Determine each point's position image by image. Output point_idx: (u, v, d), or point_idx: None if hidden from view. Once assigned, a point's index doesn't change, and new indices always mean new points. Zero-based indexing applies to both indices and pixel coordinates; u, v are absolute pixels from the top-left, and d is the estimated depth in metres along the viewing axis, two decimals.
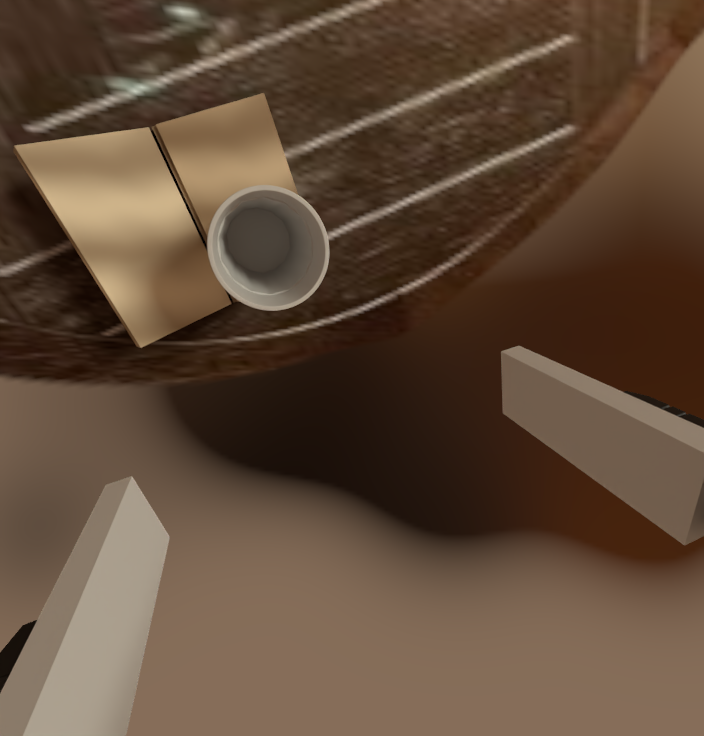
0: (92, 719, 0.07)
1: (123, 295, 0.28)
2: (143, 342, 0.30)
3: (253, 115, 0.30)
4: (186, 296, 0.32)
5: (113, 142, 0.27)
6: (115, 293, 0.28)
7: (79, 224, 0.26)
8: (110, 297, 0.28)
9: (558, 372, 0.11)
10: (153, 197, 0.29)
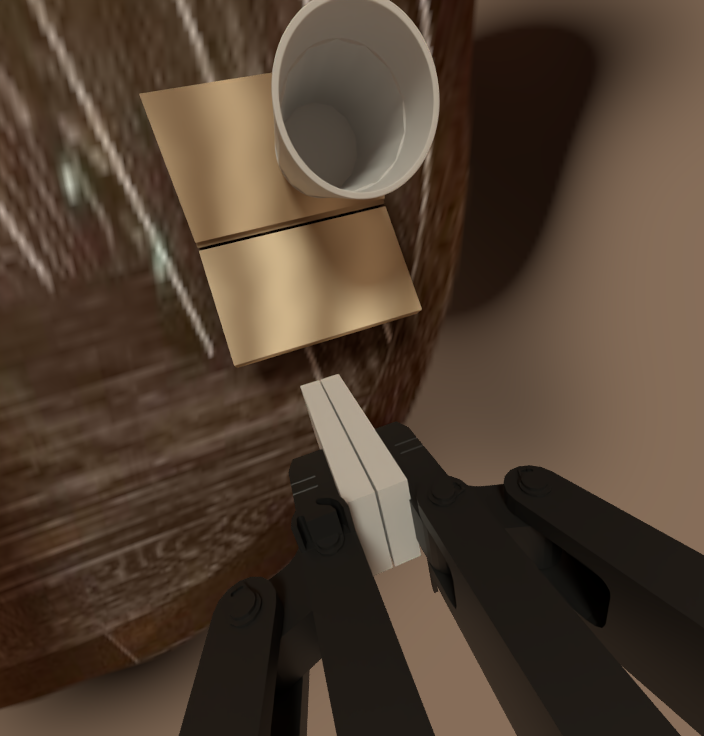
0: None
1: (368, 312, 0.28)
2: (416, 305, 0.28)
3: (169, 117, 0.23)
4: (373, 253, 0.28)
5: (219, 286, 0.26)
6: (366, 319, 0.28)
7: (300, 333, 0.27)
8: (369, 324, 0.28)
9: (343, 403, 0.12)
10: (269, 262, 0.27)
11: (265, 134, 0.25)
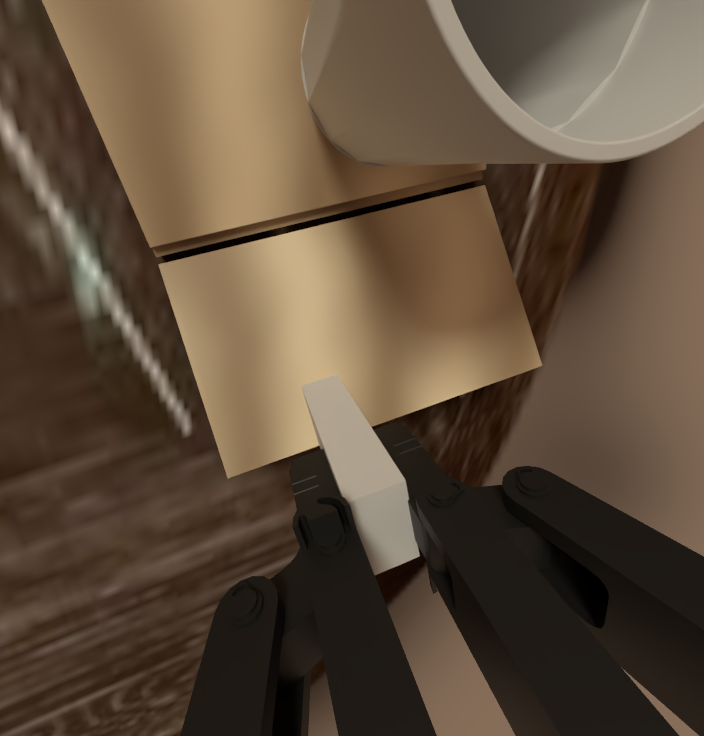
0: None
1: (457, 373, 0.16)
2: (534, 359, 0.17)
3: None
4: (465, 269, 0.17)
5: (197, 332, 0.14)
6: (453, 384, 0.16)
7: None
8: (459, 393, 0.16)
9: (341, 403, 0.12)
10: (289, 285, 0.15)
11: (283, 34, 0.13)
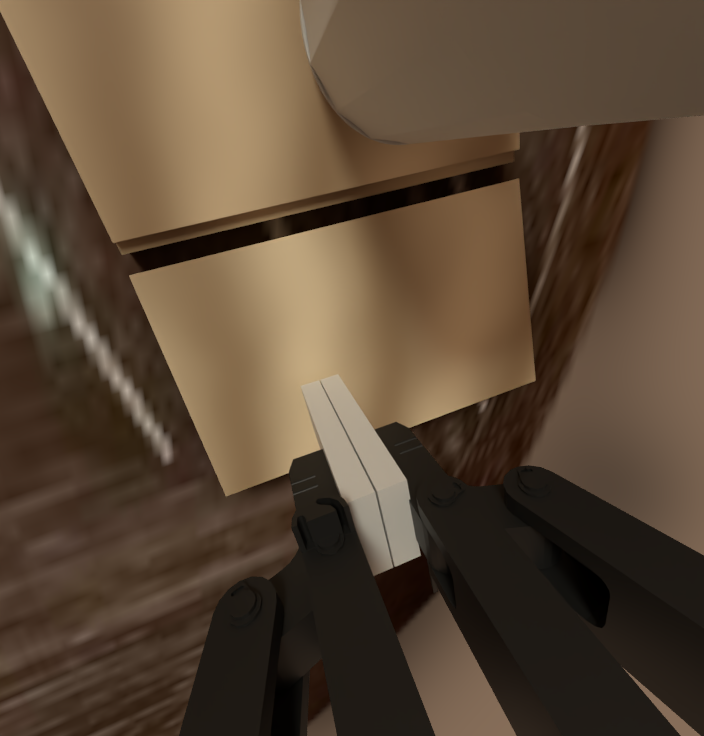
0: None
1: (455, 390, 0.16)
2: (529, 374, 0.17)
3: None
4: (480, 282, 0.15)
5: (184, 355, 0.13)
6: (449, 401, 0.16)
7: None
8: (454, 409, 0.16)
9: (342, 403, 0.12)
10: (288, 301, 0.13)
11: None
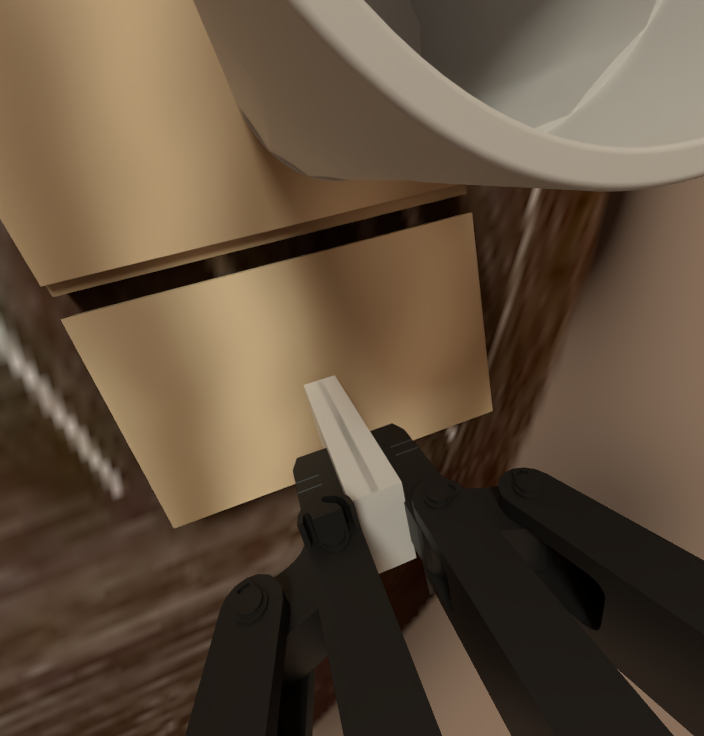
0: None
1: (408, 422, 0.16)
2: (486, 405, 0.17)
3: None
4: (433, 316, 0.15)
5: (123, 396, 0.13)
6: None
7: (290, 466, 0.15)
8: None
9: (339, 404, 0.12)
10: (230, 340, 0.13)
11: (197, 14, 0.10)
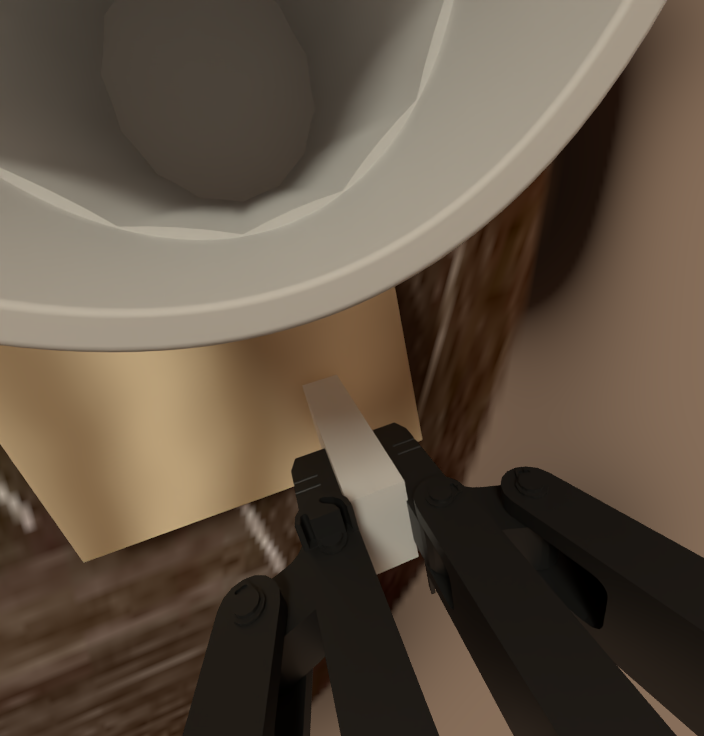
0: None
1: None
2: (415, 434, 0.17)
3: None
4: (351, 347, 0.14)
5: (16, 433, 0.12)
6: None
7: (206, 498, 0.15)
8: None
9: (341, 404, 0.12)
10: (129, 375, 0.13)
11: None
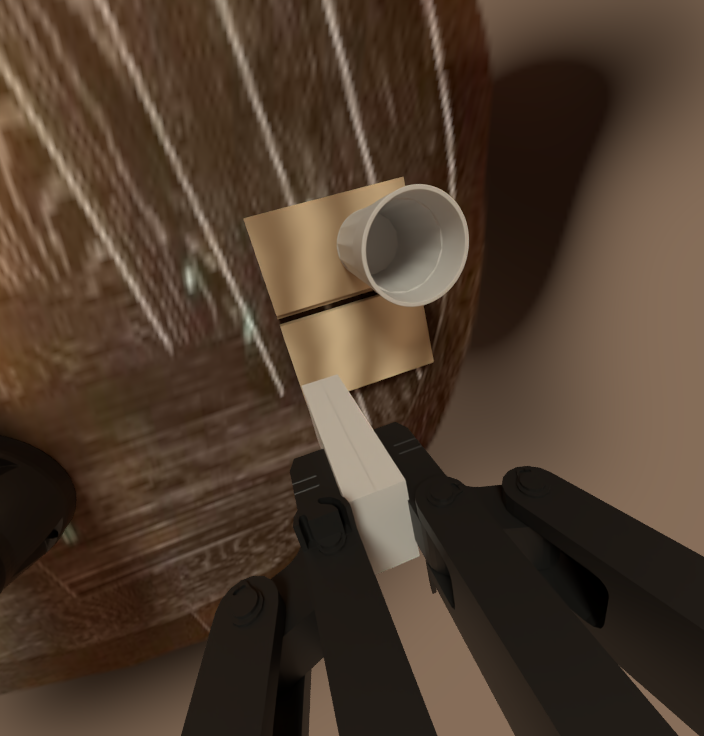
0: None
1: (397, 366, 0.40)
2: (430, 359, 0.40)
3: (263, 231, 0.32)
4: (406, 323, 0.38)
5: (295, 353, 0.36)
6: (395, 370, 0.40)
7: (350, 382, 0.39)
8: (397, 373, 0.40)
9: (342, 403, 0.12)
10: (331, 333, 0.37)
11: (330, 236, 0.33)
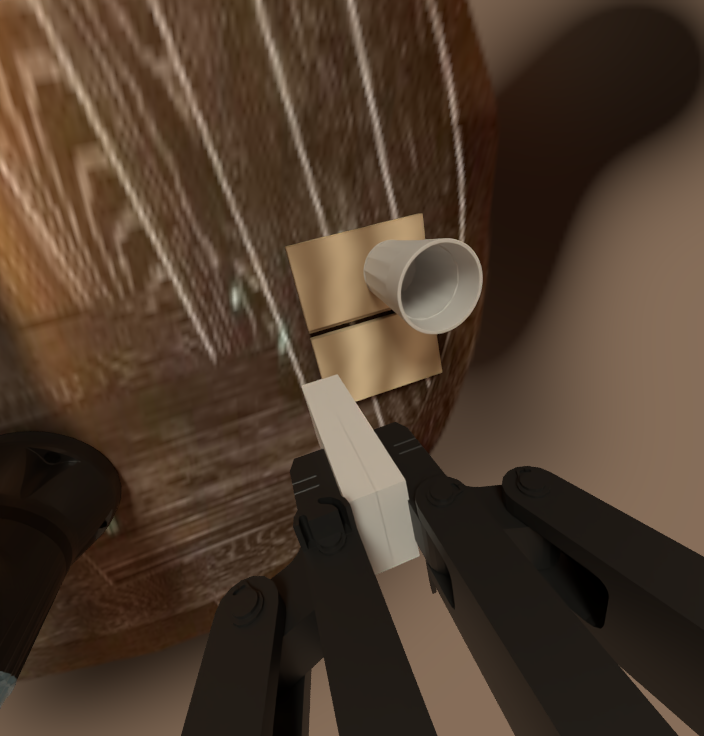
0: None
1: (410, 375, 0.45)
2: (439, 370, 0.46)
3: (302, 258, 0.36)
4: (419, 338, 0.43)
5: (323, 363, 0.41)
6: (408, 379, 0.45)
7: (369, 389, 0.44)
8: (410, 382, 0.45)
9: (342, 403, 0.12)
10: (355, 346, 0.41)
11: (358, 263, 0.38)
